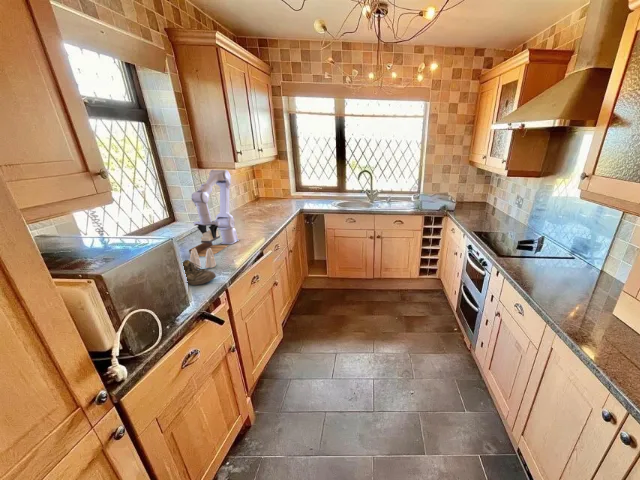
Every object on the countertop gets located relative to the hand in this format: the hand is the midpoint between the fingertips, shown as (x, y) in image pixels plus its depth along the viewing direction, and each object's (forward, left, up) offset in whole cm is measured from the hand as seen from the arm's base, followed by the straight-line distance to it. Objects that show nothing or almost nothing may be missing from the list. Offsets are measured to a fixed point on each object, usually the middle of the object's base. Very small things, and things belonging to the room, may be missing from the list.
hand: (210, 237), depth 179 cm
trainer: (0, 0, -1) cm, 1 cm away
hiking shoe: (+43, +15, -8) cm, 46 cm away
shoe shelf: (-1, -3, -8) cm, 9 cm away
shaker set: (+27, +10, -8) cm, 30 cm away
